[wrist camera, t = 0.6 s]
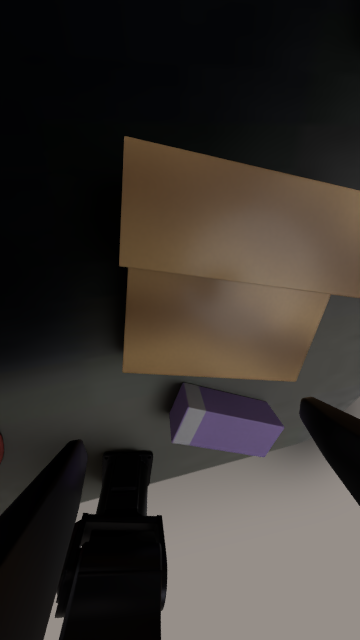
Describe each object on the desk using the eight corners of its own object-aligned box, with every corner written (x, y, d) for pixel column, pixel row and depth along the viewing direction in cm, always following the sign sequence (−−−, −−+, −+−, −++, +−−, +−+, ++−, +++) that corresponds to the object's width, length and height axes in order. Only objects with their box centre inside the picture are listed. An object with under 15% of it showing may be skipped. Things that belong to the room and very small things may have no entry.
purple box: (249, 429, 28) (264, 457, 24) (169, 413, 25) (171, 443, 21) (266, 401, 26) (285, 427, 22) (182, 381, 24) (188, 407, 20)
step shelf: (277, 364, 24) (326, 411, 17) (127, 353, 21) (113, 405, 14) (327, 221, 19) (427, 206, 12) (138, 183, 16) (124, 135, 9)
